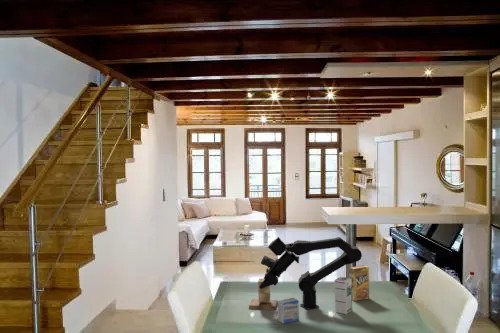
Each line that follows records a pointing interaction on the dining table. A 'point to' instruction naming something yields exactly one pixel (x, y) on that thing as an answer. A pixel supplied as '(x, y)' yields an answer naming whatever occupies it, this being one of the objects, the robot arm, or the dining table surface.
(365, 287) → the candy box
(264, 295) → the oak pillar
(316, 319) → the dining table surface
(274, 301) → the walnut slab
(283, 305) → the medicine box
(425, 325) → the dining table surface
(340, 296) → the syrup box
